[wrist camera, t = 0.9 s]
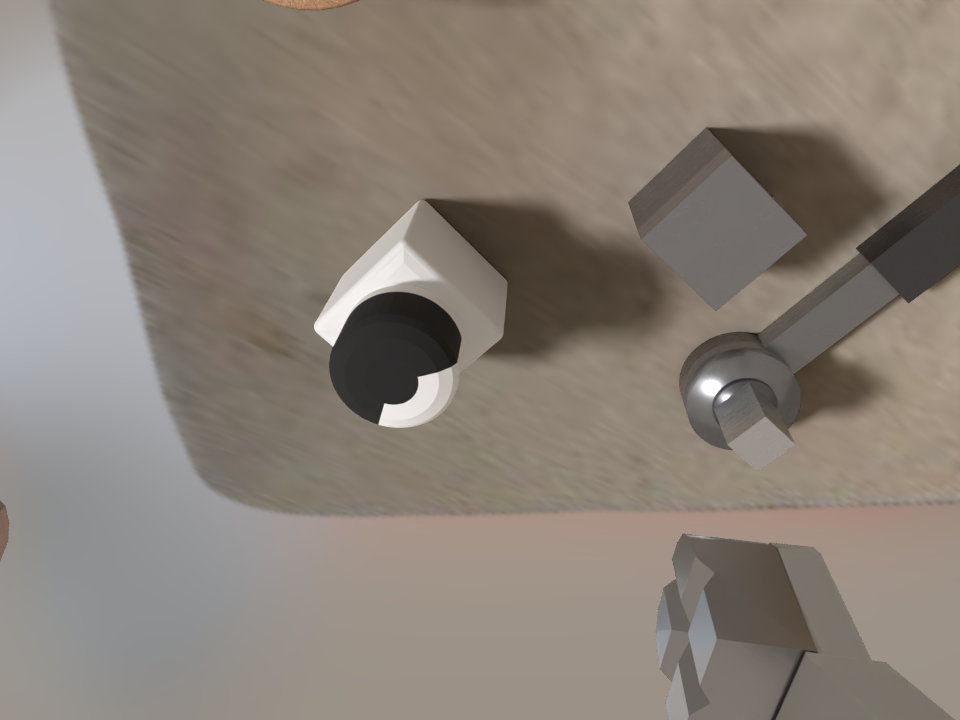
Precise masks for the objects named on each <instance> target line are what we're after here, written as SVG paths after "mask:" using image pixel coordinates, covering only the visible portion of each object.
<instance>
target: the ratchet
mask: <svg viewBox="0 0 960 720" xmlns="http://www.w3.org/2000/svg"><path fill="white" fill-rule="evenodd" d="M856 249H857V250H858V251H859V252H860V254H858V255H857V256H856V257H855V258H853V259H852V260H851V261H850V262H848V263H847V264H846V265H845V266H843V267H842V268H841V269H839V270H838V271H837V272H836V273H834V274H833V275H832V276H831V277H829V278H828V279H827V280H826V281H824V282H823V283H822V284H821V285H819V286H818V287H817V288H816V289H814V290H813V291H812V292H811V293H809V294H808V295H807V296H806V297H804V298H803V299H802V300H801V301H799V302H798V303H797V304H796V305H794V306H793V307H792V308H791V309H789V310H788V311H787V312H786V313H784V314H783V315H782V316H781V317H779V318H778V319H777V320H776V321H774V322H773V323H772V324H771V325H769V326H768V327H767V328H766V329H764V330H763V331H762V332H761V333H759V334H758V335H755V334H751V333H745V332H734V333H727V334H722V335H719V336H716V337H714V338H711V339H709V340H707V341H706V342H704V343H702V344H701V345H700V346H698V347H697V348H696V349H695V350H694V351H693V352H692V353H691V354H690V355H689V357H688V358H687V360H686V361H685V363H684V365H683V367H682V370H681V373H680V378H679V387H680V392H681V396H682V399H683V402H684V405H685V408H686V412H687V415H688V418H689V421H690V424H691V426H692V428H693V429H694V431H695V432H696V433H697V434H698V435H699V436H700V437H701V438H702V439H703V440H705V441H706V442H708V443H709V444H711V445H713V446H716V447H719V448H722V449H727V450H734V451H735V452H736V453H737V454H738V455H740V456H741V457H742V458H743V459H744V460H745V461H746V462H747V463H749V464H750V465H751V466H752V467H753V468H754V469H755V470H756V471H759V470H760V469H762V468H763V467H764V466H766V465H767V464H769V463H770V462H771V461H773V460H774V459H776V458H777V457H778V456H780V455H781V454H783V453H784V452H785V451H787V450H788V449H790V448H791V447H793V446H794V445H795V442H794V440H793V438H792V436H791V434H790V432H789V431H788V429H789V428H790V426H791V425H792V424H793V422H794V421H795V419H796V417H797V415H798V413H799V410H800V406H801V390H800V386H799V383H798V381H797V379H796V378H795V376H794V374H795V373H796V372H797V371H799V370H800V369H801V368H803V367H804V366H805V365H807V364H808V363H809V362H811V361H812V360H813V359H815V358H816V357H817V356H818V355H820V354H821V353H822V352H824V351H825V350H826V349H828V348H829V347H830V346H832V345H833V344H834V343H836V342H837V341H838V340H840V339H841V338H842V337H844V336H845V335H846V334H848V333H849V332H850V331H852V330H853V329H854V328H856V327H857V326H858V325H859V324H861V323H862V322H863V321H865V320H866V319H867V318H869V317H870V316H871V315H873V314H874V313H875V312H877V311H878V310H879V309H881V308H882V307H883V306H885V305H886V304H887V303H889V302H890V301H891V300H893V299H894V298H895V297H897V296H898V295H900V296H901V297H902V298H903V299H905V300H906V301H907V302H908V303H910V302H911V301H912V300H914V299H915V298H916V297H918V296H919V295H920V294H922V293H923V292H924V291H926V290H927V289H928V288H930V287H931V286H932V285H934V284H935V283H936V282H938V281H939V280H940V279H942V278H943V277H944V276H946V275H947V274H948V273H950V272H951V271H952V270H954V269H955V268H956V267H958V266H959V265H960V165H959V166H958V167H956V168H955V169H954V170H953V171H951V172H950V173H949V174H948V175H946V176H945V177H944V178H943V179H941V180H940V181H939V182H938V183H937V184H935V185H934V186H933V187H932V188H930V189H929V190H928V191H927V192H925V193H924V194H923V195H922V196H920V197H919V198H918V199H917V200H915V201H914V202H913V203H912V204H910V205H909V206H908V207H907V208H905V209H904V210H903V211H902V212H900V213H899V214H898V215H897V216H895V217H894V218H893V219H892V220H890V221H889V222H888V223H887V224H885V225H884V226H883V227H882V228H880V229H879V230H878V231H877V232H876V233H874V234H873V235H872V236H871V237H869V238H868V239H867V240H866V241H864V242H863V243H862V244H861V245H859V246H858V247H857V248H856Z"/></svg>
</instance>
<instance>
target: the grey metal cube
mask: <svg viewBox="0 0 960 720" xmlns="http://www.w3.org/2000/svg"><path fill="white" fill-rule="evenodd" d="M628 203H629V206H630V209H631V212H632V215H633V218H634V221H635V224H636V227H637V230H638V233H639V236H640V239H641V240H642V241H643V242H644V243H645V244H646V245H647V246H648V247H649V248H650V249H651V250H652V251H653V252H654V253H655V254H656V255H657V256H658V257H659V258H661V259H662V260H663V261H664V262H665V263H666V264H667V265H668V266H669V267H670V268H671V269H672V270H673V271H674V272H675V273H676V274H677V275H678V276H679V277H681V278H682V279H683V280H684V281H685V282H686V283H687V284H688V285H689V286H690V287H691V288H692V289H693V290H694V291H695V292H696V293H697V294H698V295H699V296H700V297H702V298H703V299H704V300H705V301H706V302H707V303H708V304H709V305H710V306H711V307H712V308H713V309H714V310H715V311H717V310H718V309H719V308H721V307H722V306H723V305H724V304H725V303H727V302H728V301H729V300H730V299H731V298H733V297H734V296H735V295H736V294H737V293H738V292H740V291H741V290H742V289H743V288H744V287H746V286H747V285H748V284H749V283H750V282H752V281H753V280H754V279H755V278H756V277H758V276H759V275H760V274H761V273H762V272H764V271H765V270H766V269H767V268H768V267H770V266H771V265H772V264H773V263H774V262H776V261H777V260H778V259H779V258H780V257H782V256H783V255H784V254H785V253H786V252H788V251H789V250H790V249H791V248H792V247H794V246H795V245H796V244H797V243H798V242H800V241H801V240H802V239H803V238H804V237H806V236H807V234H806V233H805V232H804V231H803V230H802V229H801V227H800V226H799V225H798V224H797V223H796V222H795V221H794V220H793V219H792V218H791V216H790V215H789V214H788V213H787V212H786V211H785V210H784V209H783V208H782V207H781V205H780V204H779V203H778V202H777V201H776V200H775V199H774V198H773V197H772V196H771V195H770V194H769V193H768V191H767V190H766V189H765V188H764V187H763V186H762V185H761V184H760V183H759V182H758V181H757V180H756V179H755V178H754V177H753V176H752V175H751V174H750V173H749V172H748V171H747V169H746V168H745V167H744V166H743V165H742V164H741V163H740V162H739V161H738V160H737V159H736V158H735V157H734V156H733V155H732V154H731V153H730V152H729V151H728V150H727V149H726V147H725V146H724V145H723V144H722V143H721V142H720V141H719V140H718V139H717V138H716V137H715V136H714V135H713V134H712V133H711V132H710V131H709V130H708V129H707V128H705V129H704V130H703V131H702V132H701V133H700V134H699V135H698V136H697V137H696V138H695V139H694V140H693V141H692V142H691V143H690V144H689V145H688V146H687V147H686V148H684V149H683V150H682V151H681V152H680V153H679V154H678V155H677V156H676V157H675V158H674V159H673V160H672V161H671V162H670V163H669V164H668V165H667V166H666V167H665V168H664V169H663V170H662V171H661V172H660V173H658V174H657V175H656V176H655V177H654V178H653V179H652V180H651V181H650V182H649V183H648V184H647V185H646V186H645V187H644V188H643V189H642V190H641V191H640V192H639V193H638V194H637V195H636V196H635V197H633V198H632V199H631V200H630V201H629V202H628Z"/></svg>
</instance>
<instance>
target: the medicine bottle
mask: <svg viewBox="0 0 960 720" xmlns="http://www.w3.org/2000/svg"><path fill="white" fill-rule="evenodd" d="M507 288H508V282H507V281H506V279H505V278H504V277H503V276H502V275H501V274H500V273H499V272H498V271H497V270H496V269H494V268H493V267H492V266H491V265H490V264H489V263H488V262H487V261H486V260H485V259H484V258H483V257H482V256H481V255H480V254H479V253H478V252H477V251H476V250H475V249H474V248H473V247H472V246H471V245H470V244H469V243H468V242H467V241H466V240H465V239H464V238H463V237H462V236H461V235H460V234H459V233H458V232H457V231H456V230H455V229H454V228H453V227H452V226H451V225H450V224H449V223H448V222H447V221H446V220H445V219H444V218H443V217H442V216H441V215H440V214H439V213H438V212H437V211H436V210H435V209H434V208H433V207H432V206H431V205H430V204H429V203H428V202H426V201H425V200H420V201H418V202H417V203H416V204H415V205H414V206H413V207H412V208H411V209H410V210H409V211H408V212H407V213H405V214H404V215H403V216H402V217H401V218H400V219H399V220H398V221H397V222H396V223H395V224H394V225H393V226H392V227H391V228H390V229H389V230H388V231H387V232H386V233H385V234H384V235H383V236H382V237H381V238H380V239H379V240H378V241H377V242H376V243H375V244H374V245H373V246H372V247H371V248H370V249H369V250H368V251H367V252H366V253H365V254H364V255H363V256H362V257H361V258H360V259H359V260H358V261H357V262H356V263H355V264H354V265H353V266H352V267H351V268H350V269H349V270H348V271H347V272H346V273H345V274H344V275H343V276H342V278H341V280H340V281H339V283H338V285H337V286H336V288H335V290H334V292H333V293H332V295H331V297H330V298H329V300H328V302H327V304H326V305H325V307H324V309H323V311H322V312H321V314H320V316H319V317H318V319H317V321H316V323H315V324H314V329H315V331H316V332H317V333H318V334H319V335H320V336H321V337H323V338H324V339H325V340H326V341H327V342H328V343H329V344H331V345H332V346H333V348H332V352H331V355H330V362H329V369H330V376H331V380H332V383H333V386H334V388H335V390H336V392H337V394H338V395H339V397H340V398H341V400H342V401H343V402H344V403H345V404H346V405H347V406H348V407H349V408H350V409H351V410H352V411H353V412H354V413H356V414H357V415H359V416H360V417H362V418H364V419H366V420H368V421H370V422H373V423H375V424H378V425H382V426H387V427H395V428H405V427H413V426H417V425H421V424H424V423H426V422H429V421H430V420H432V419H434V418H436V417H437V416H438V415H440V414H441V413H442V412H443V411H444V410H445V409H446V408H447V407H448V406H449V404H450V403H451V402H452V400H453V398H454V396H455V394H456V391H457V387H458V382H459V377H460V373H461V372H462V371H463V370H464V369H465V368H467V367H468V366H469V365H470V364H471V363H473V362H474V361H475V360H476V359H477V358H479V357H480V356H481V355H482V354H483V353H485V352H486V351H487V350H488V349H489V348H491V347H492V346H493V345H494V344H495V343H497V342H498V341H499V340H500V339H501V338H502V336H503V333H504V322H505V310H506V299H507Z"/></svg>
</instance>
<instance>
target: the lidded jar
mask: <svg viewBox="0 0 960 720" xmlns="http://www.w3.org/2000/svg"><path fill="white" fill-rule="evenodd" d="M264 1H267V2H270V3H272V4H275V5H278V6H281V7H287V8H292V9H297V10H325V9H332V8H338V7H342V6H345V5H348V4H351V3H354V2H356V1H359V0H264Z"/></svg>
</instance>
